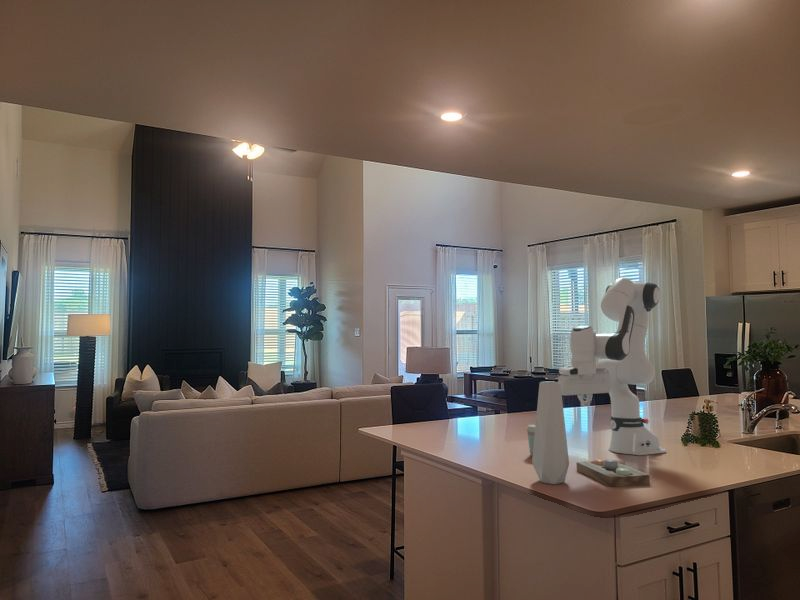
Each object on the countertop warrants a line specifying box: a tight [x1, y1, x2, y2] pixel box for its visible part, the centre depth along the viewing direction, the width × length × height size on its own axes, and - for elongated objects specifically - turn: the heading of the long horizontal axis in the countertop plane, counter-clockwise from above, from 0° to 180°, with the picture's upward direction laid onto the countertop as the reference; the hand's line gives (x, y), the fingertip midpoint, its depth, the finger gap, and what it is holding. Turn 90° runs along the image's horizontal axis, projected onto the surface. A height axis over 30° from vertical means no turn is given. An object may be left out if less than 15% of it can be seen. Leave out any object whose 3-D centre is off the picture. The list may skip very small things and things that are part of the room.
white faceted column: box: [531, 381, 570, 485], centre depth 186 cm, size 12×12×33 cm
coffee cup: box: [526, 423, 536, 457], centre depth 224 cm, size 9×8×12 cm
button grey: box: [603, 459, 619, 470], centre depth 190 cm, size 4×4×3 cm
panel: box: [576, 460, 651, 488], centre depth 190 cm, size 14×22×3 cm, turn 11°
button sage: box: [616, 468, 630, 475], centre depth 183 cm, size 4×4×3 cm
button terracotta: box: [593, 458, 605, 465], centre depth 197 cm, size 4×4×3 cm
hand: (585, 406), depth 206 cm, fingers closed
